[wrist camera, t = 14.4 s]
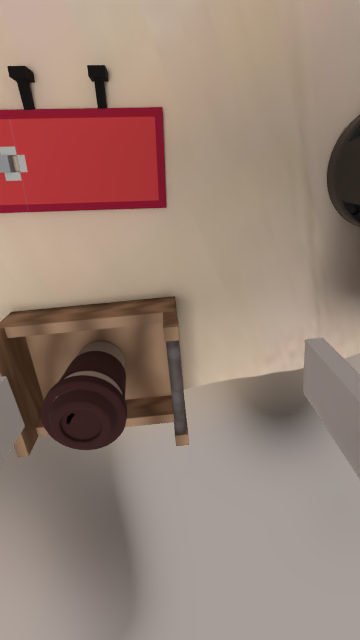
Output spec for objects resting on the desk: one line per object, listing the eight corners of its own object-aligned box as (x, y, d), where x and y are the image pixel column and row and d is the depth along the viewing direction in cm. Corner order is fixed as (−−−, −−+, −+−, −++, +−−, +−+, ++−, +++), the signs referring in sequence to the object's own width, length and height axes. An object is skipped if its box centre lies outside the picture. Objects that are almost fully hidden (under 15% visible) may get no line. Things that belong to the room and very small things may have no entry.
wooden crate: (174, 296, 49) (178, 326, 39) (183, 397, 56) (189, 444, 46) (11, 312, 49) (-28, 346, 39) (41, 411, 56) (15, 462, 46)
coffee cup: (145, 372, 52) (140, 440, 39) (91, 397, 54) (67, 472, 40) (113, 321, 49) (95, 375, 35) (56, 349, 50) (16, 413, 36)
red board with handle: (-107, 74, 37) (-64, 213, 43) (-126, 67, 35) (-78, 216, 41) (160, 72, 39) (165, 206, 45) (161, 64, 36) (166, 208, 42)
